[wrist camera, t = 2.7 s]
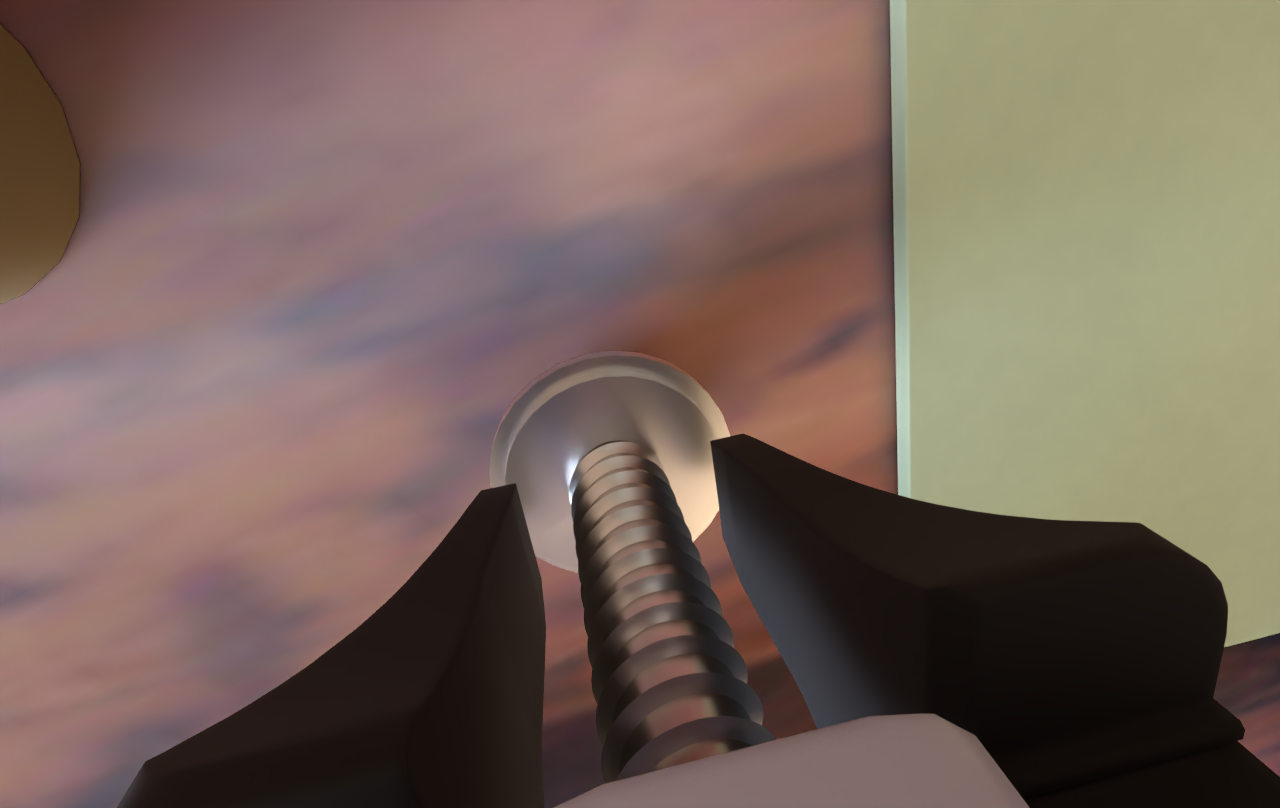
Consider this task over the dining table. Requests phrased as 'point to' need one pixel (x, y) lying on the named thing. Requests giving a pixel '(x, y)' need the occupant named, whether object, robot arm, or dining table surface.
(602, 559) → the screw
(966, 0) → the mat
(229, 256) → the dining table surface
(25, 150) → the olive pawn
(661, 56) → the dining table surface
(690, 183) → the dining table surface
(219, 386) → the dining table surface
